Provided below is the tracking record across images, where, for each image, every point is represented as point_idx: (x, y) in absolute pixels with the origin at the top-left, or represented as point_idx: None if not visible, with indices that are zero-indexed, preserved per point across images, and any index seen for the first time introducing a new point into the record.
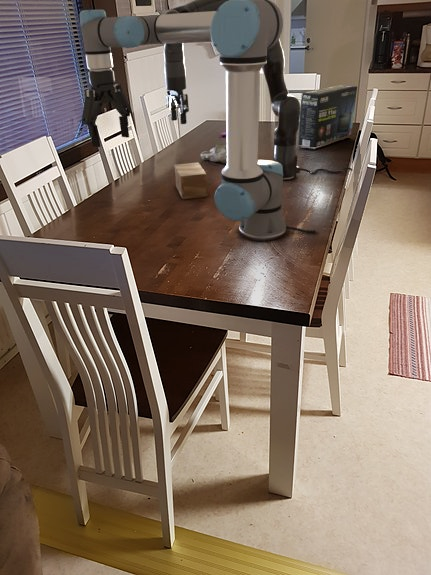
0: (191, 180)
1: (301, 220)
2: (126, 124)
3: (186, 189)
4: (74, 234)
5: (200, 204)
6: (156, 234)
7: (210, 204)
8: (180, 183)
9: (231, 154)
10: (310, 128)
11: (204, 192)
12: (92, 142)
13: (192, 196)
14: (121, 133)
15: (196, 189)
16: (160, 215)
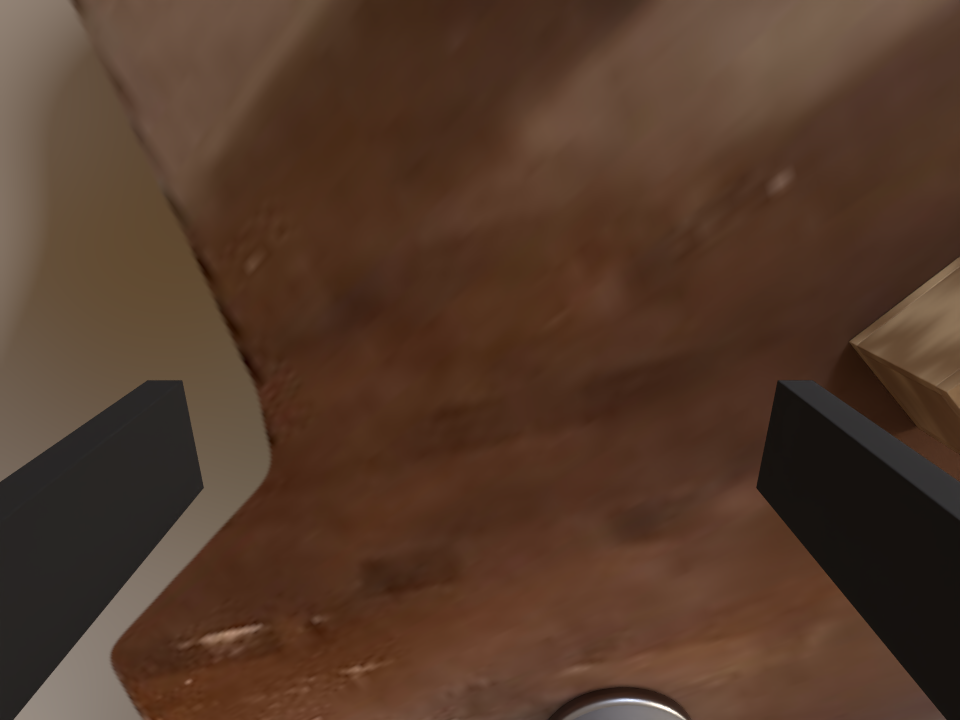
0: (953, 420)
1: None
2: (887, 630)
3: (897, 377)
4: (213, 142)
5: None
6: (426, 476)
7: None
8: (936, 345)
9: None
10: None
11: (928, 430)
12: (117, 411)
13: (883, 381)
14: (803, 407)
15: (922, 412)
16: (608, 371)
